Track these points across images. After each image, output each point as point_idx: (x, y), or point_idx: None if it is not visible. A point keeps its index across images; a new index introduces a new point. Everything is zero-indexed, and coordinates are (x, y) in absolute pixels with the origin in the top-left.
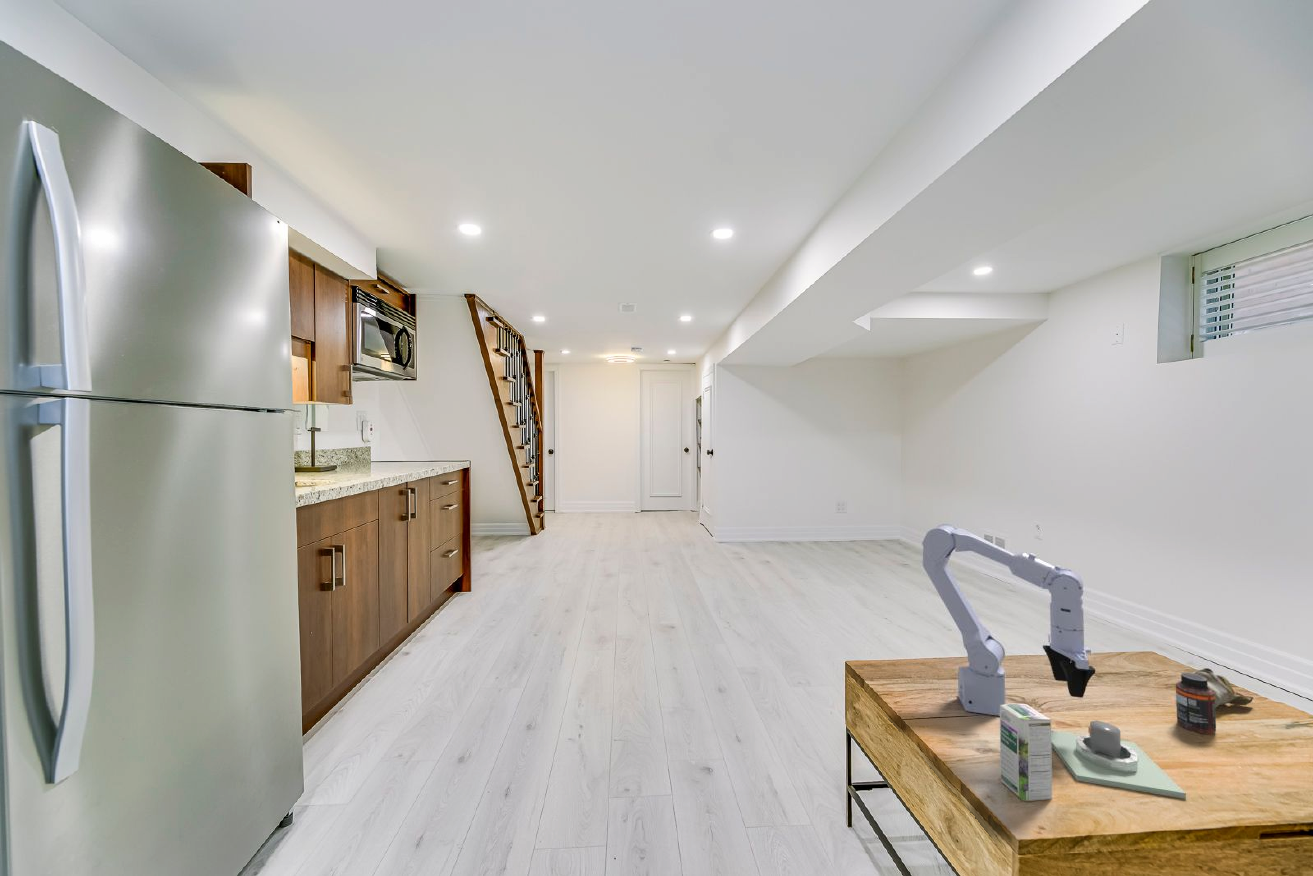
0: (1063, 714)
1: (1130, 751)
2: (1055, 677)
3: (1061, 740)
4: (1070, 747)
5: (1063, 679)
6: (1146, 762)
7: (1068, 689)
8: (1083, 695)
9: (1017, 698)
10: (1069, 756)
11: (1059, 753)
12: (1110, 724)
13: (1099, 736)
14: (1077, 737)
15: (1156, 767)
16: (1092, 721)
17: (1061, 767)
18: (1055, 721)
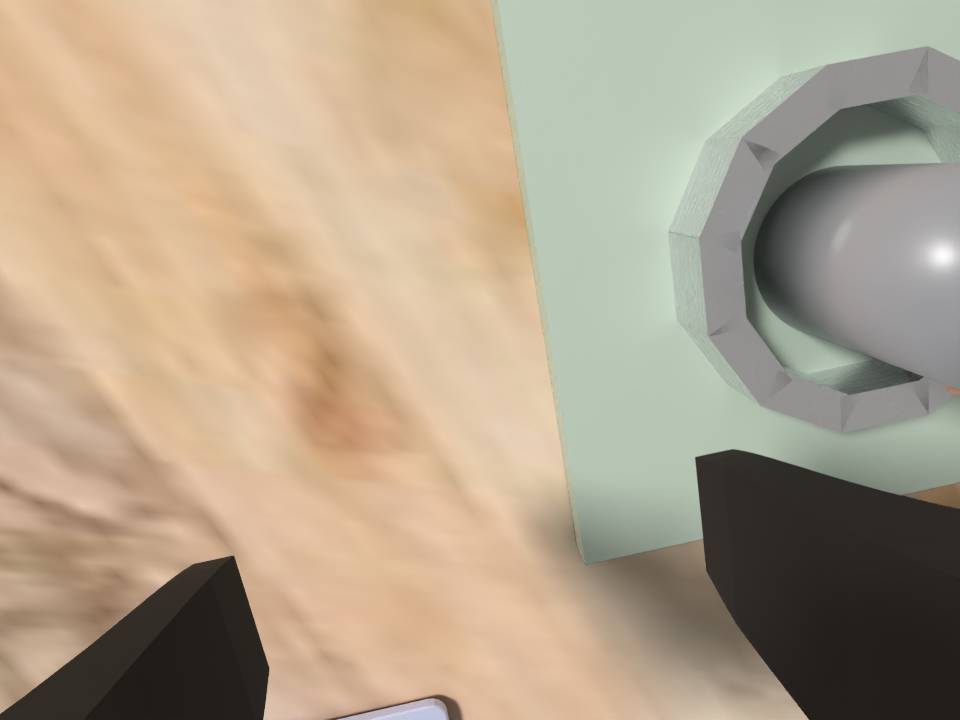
0: (150, 379)
1: (881, 87)
2: (261, 703)
3: None
4: (780, 436)
5: (237, 605)
6: None
7: (754, 633)
8: (755, 455)
9: (46, 653)
10: (898, 459)
11: None
12: (950, 216)
13: None
14: (795, 417)
15: None
16: (942, 369)
17: (949, 493)
18: (325, 449)
